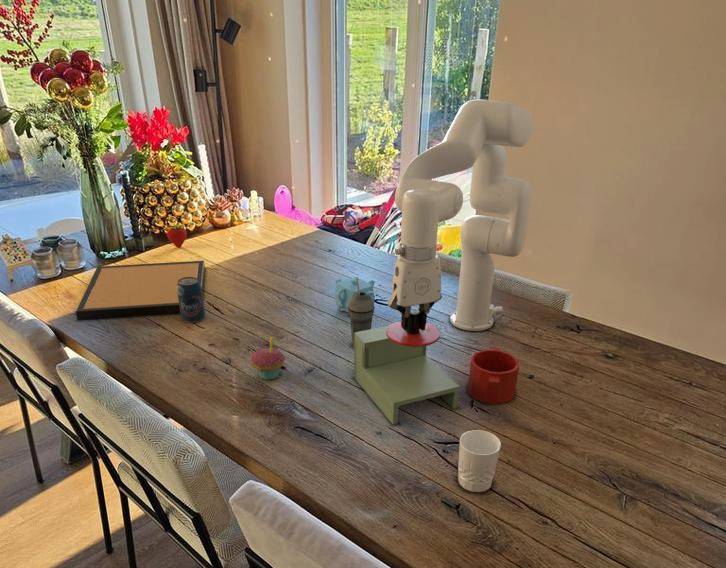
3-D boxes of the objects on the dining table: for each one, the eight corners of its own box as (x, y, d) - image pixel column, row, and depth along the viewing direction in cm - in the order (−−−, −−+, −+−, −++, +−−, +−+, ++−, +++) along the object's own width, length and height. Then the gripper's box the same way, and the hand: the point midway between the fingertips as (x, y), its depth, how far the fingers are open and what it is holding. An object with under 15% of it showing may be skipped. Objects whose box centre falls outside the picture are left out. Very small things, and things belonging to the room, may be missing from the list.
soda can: (184, 325, 183) (177, 287, 177) (179, 315, 189) (173, 278, 182) (207, 321, 186) (202, 283, 179) (202, 311, 191) (197, 274, 185)
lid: (442, 327, 147) (444, 302, 143) (437, 352, 136) (439, 326, 133) (390, 322, 148) (391, 298, 145) (382, 346, 138) (382, 321, 135)
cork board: (200, 312, 191) (205, 268, 220) (199, 303, 189) (203, 260, 219) (77, 320, 186) (99, 274, 215) (75, 311, 184) (97, 266, 213)
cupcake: (291, 369, 163) (288, 328, 156) (276, 386, 156) (273, 344, 149) (261, 364, 165) (257, 323, 159) (245, 380, 158) (241, 338, 152)
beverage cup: (371, 353, 170) (372, 284, 160) (345, 350, 172) (344, 281, 161) (376, 340, 176) (377, 273, 166) (350, 337, 178) (350, 271, 167)
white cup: (451, 469, 130) (455, 430, 124) (489, 467, 130) (495, 429, 125) (459, 495, 123) (464, 455, 118) (499, 493, 124) (505, 453, 118)
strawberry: (166, 247, 237) (161, 221, 232) (184, 243, 241) (180, 217, 236) (173, 252, 233) (169, 225, 228) (191, 247, 237) (188, 221, 232)
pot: (514, 375, 161) (518, 346, 156) (514, 412, 147) (520, 381, 143) (469, 371, 163) (472, 342, 158) (465, 407, 149) (469, 376, 144)
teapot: (321, 306, 195) (320, 275, 190) (356, 294, 202) (356, 264, 197) (357, 326, 183) (357, 295, 178) (393, 313, 191) (394, 282, 185)
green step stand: (457, 407, 149) (462, 360, 142) (392, 424, 143) (394, 376, 136) (413, 364, 166) (416, 319, 158) (354, 377, 160) (354, 332, 153)
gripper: (391, 262, 126) (388, 343, 136) (460, 251, 132) (453, 329, 141) (375, 250, 132) (373, 328, 141) (442, 240, 137) (436, 316, 147)
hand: (413, 328), depth 141 cm, fingers closed on lid, 2 cm apart
